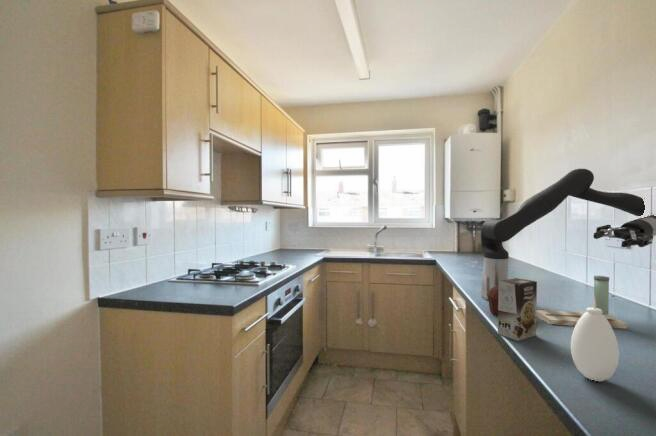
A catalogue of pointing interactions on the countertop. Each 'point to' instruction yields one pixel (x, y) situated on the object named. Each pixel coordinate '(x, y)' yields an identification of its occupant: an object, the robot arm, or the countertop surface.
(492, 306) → the muffin
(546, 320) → the beige flat wavy piece
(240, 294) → the countertop surface
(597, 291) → the green cylindrical container
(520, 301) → the coffee box
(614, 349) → the sauce bottle
